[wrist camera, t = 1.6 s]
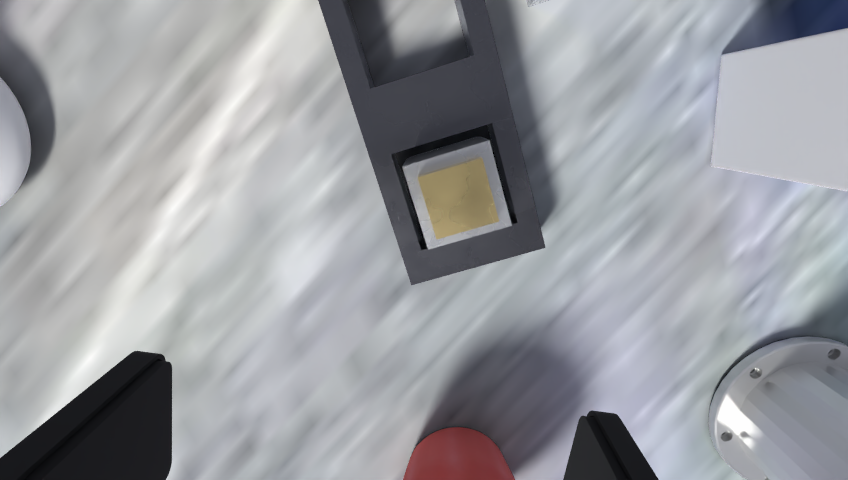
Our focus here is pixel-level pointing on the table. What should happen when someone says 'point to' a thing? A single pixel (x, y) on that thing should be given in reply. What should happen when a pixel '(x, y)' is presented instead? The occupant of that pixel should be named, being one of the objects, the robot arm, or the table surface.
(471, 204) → the tan topped grey block
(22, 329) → the table surface
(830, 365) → the robot arm
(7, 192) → the flower in vase
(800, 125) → the milk carton
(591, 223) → the table surface
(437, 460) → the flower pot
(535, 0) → the grey and tan block
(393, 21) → the table surface
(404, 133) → the dark grey slotted board
